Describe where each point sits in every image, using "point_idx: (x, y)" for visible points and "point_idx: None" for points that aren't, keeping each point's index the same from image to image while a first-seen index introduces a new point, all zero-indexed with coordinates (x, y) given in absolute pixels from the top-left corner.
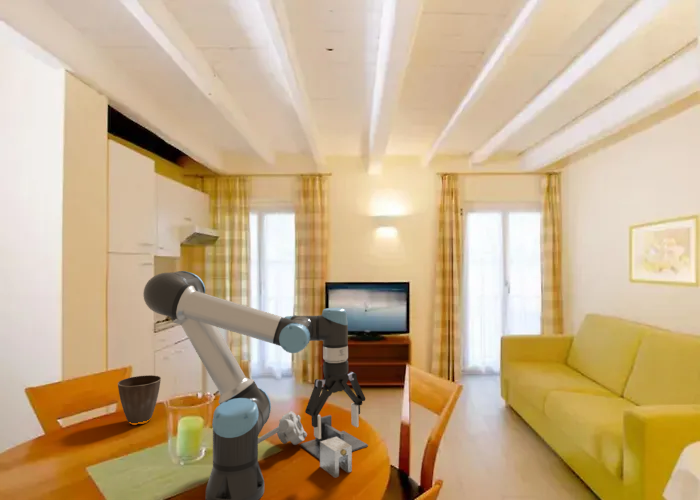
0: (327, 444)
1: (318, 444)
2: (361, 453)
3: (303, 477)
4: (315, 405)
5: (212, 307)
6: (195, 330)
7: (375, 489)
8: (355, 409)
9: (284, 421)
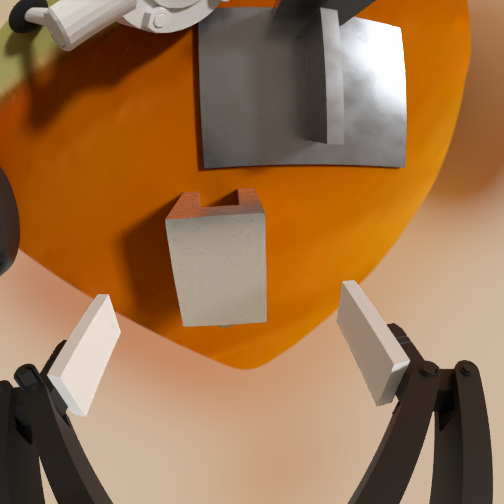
0: (182, 263)
1: (259, 48)
2: (356, 193)
3: (111, 227)
4: (36, 462)
5: None
6: None
7: (255, 360)
8: (370, 378)
9: (52, 19)
